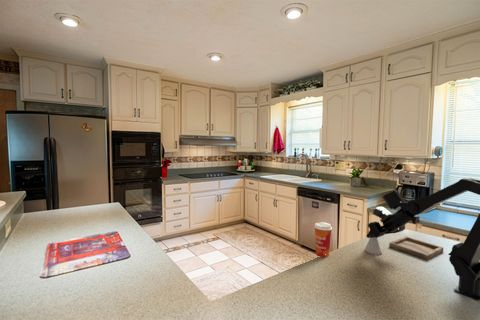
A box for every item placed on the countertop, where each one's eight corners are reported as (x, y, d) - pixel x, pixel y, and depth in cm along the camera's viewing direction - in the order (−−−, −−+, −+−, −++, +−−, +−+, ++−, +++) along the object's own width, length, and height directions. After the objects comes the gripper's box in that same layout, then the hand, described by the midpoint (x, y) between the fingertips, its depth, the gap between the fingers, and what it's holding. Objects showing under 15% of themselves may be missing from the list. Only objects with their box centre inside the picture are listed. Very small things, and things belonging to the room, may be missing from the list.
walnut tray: (427, 260, 106) (427, 255, 106) (389, 246, 120) (389, 242, 119) (443, 252, 114) (443, 247, 114) (405, 240, 128) (405, 236, 128)
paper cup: (309, 252, 113) (310, 223, 112) (322, 249, 116) (323, 220, 115) (322, 260, 106) (323, 228, 105) (335, 256, 109) (336, 225, 108)
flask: (384, 256, 110) (385, 234, 109) (367, 254, 111) (368, 233, 111) (378, 249, 117) (379, 228, 116) (362, 247, 118) (363, 227, 118)
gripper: (399, 200, 112) (375, 217, 123) (372, 204, 104) (349, 222, 114) (417, 222, 105) (390, 238, 116) (390, 228, 97) (364, 245, 108)
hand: (373, 235), depth 114 cm, fingers open, 9 cm apart
